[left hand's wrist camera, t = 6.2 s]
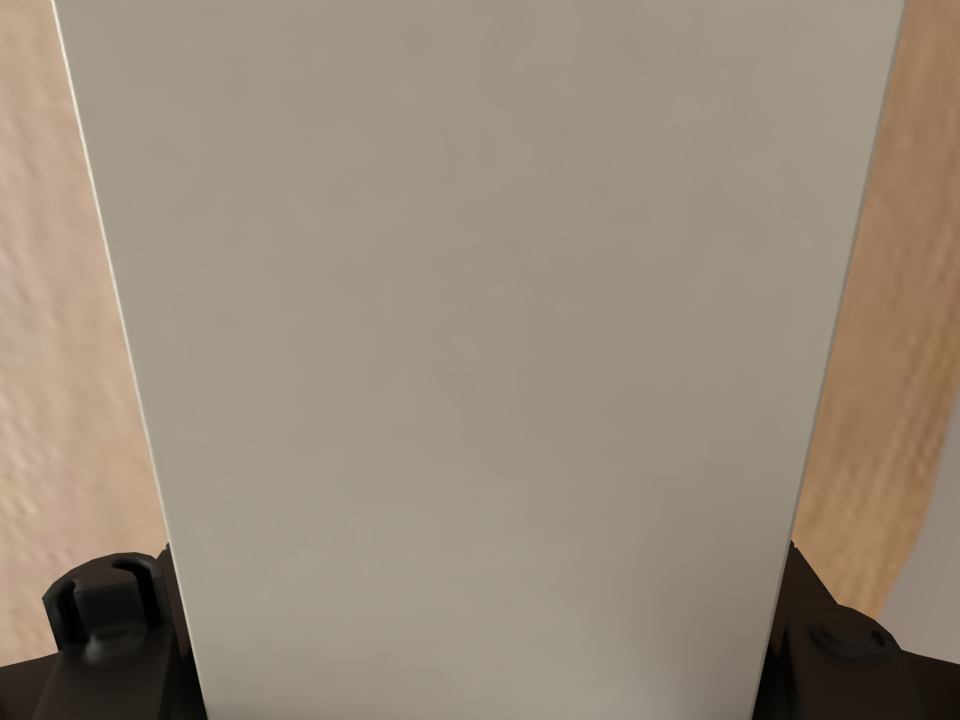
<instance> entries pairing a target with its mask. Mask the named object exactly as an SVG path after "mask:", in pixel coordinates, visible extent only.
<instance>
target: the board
mask: <svg viewBox="0 0 960 720" xmlns="http://www.w3.org/2000/svg"><path fill="white" fill-rule="evenodd" d="M50 1H51V5H52V10H53V14H54V19H55V23H56V28H57V33H58V37H59V42H60V46H61V51H62V55H63V60H64V65H65V69H66V74H67V78H68V83H69V87H70V92H71V97H72V101H73V106H74V110H75V115H76V119H77V124H78V129H79V133H80V138H81V142H82V147H83V151H84V156H85V161H86V165H87V170H88V174H89V179H90V183H91V188H92V193H93V197H94V202H95V206H96V211H97V215H98V220H99V225H100V229H101V234H102V238H103V243H104V247H105V252H106V257H107V261H108V266H109V270H110V275H111V280H112V284H113V289H114V293H115V298H116V302H117V307H118V312H119V316H120V321H121V325H122V330H123V334H124V339H125V344H126V348H127V353H128V357H129V362H130V366H131V371H132V376H133V380H134V385H135V389H136V394H137V398H138V403H139V408H140V412H141V417H142V421H143V426H144V430H145V435H146V440H147V444H148V449H149V453H150V458H151V462H152V467H153V472H154V476H155V481H156V485H157V490H158V494H159V499H160V504H161V508H162V513H163V517H164V522H165V526H166V531H167V536H168V540H169V545H170V549H171V554H172V558H173V563H174V568H175V572H176V577H177V581H178V586H179V590H180V595H181V600H182V604H183V609H184V613H185V618H186V623H187V627H188V632H189V636H190V641H191V645H192V650H193V655H194V659H195V664H196V668H197V673H198V677H199V682H200V687H201V691H202V696H203V700H204V705H205V709H206V714H207V719H208V720H752V715H753V711H754V706H755V701H756V697H757V692H758V688H759V683H760V679H761V674H762V669H763V665H764V660H765V656H766V651H767V646H768V642H769V637H770V633H771V628H772V624H773V619H774V614H775V610H776V605H777V601H778V596H779V591H780V587H781V582H782V578H783V573H784V568H785V564H786V559H787V555H788V550H789V546H790V541H791V536H792V532H793V527H794V523H795V518H796V513H797V509H798V504H799V500H800V495H801V490H802V486H803V481H804V477H805V472H806V468H807V463H808V458H809V454H810V449H811V445H812V440H813V435H814V431H815V426H816V422H817V417H818V413H819V408H820V403H821V399H822V394H823V390H824V385H825V380H826V376H827V371H828V367H829V362H830V357H831V353H832V348H833V344H834V339H835V335H836V330H837V325H838V321H839V316H840V312H841V307H842V302H843V298H844V293H845V289H846V284H847V279H848V275H849V270H850V266H851V261H852V257H853V252H854V247H855V243H856V238H857V234H858V229H859V224H860V220H861V215H862V211H863V206H864V202H865V197H866V192H867V188H868V183H869V179H870V174H871V169H872V165H873V160H874V156H875V151H876V146H877V142H878V137H879V133H880V128H881V124H882V119H883V114H884V110H885V105H886V101H887V96H888V91H889V87H890V82H891V78H892V73H893V68H894V64H895V59H896V55H897V50H898V46H899V41H900V36H901V32H902V27H903V23H904V18H905V13H906V9H907V4H908V0H50Z"/></svg>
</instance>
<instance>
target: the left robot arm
mask: <svg viewBox="0 0 960 720" xmlns="http://www.w3.org/2000/svg"><path fill="white" fill-rule="evenodd" d="M42 600H43V603H44V606H45V609H46V613H47V616H48V619H49V622H50V625H51V628H52V632H53V635H54V638H55V641H56V644H57V648H58V653H55V654H52V655H48V656H45V657H41V658H37V659H33V660H29V661H24V662H20V663H16V664H12V665H8V666H3V667H0V720H208V719H207V714H206V709H205V705H204V700H203V696H202V691H201V687H200V682H199V677H198V673H197V668H196V664H195V659H194V655H193V650H192V645H191V641H190V636H189V632H188V627H187V623H186V618H185V613H184V609H183V604H182V600H181V595H180V590H179V586H178V581H177V577H176V572H175V568H174V563H173V558H172V554H171V549H170V545H169V542H168V544H167V545H166V550H163V551H162V552H161V553H160V555H159V556H158V558H157V559H155V558H153V557H152V556H150V555H146V554H141V553H137V552H131V553H115V554H111V555H108V556H104V557H100V558H96V559H93V560H91V561H88V562H86V563H84V564H82V565H80V566H78V567H76V568H74V569H72V570H70V571H69V572H67V573H66V574H65V575H63V576H62V577H61V578H59V579H58V580H57V581H55V582H54V583H53V584H52V585H51V587H50V588H49V589H48V591H47V592H46V593H45V595H44V596H43V597H42ZM752 720H960V664H955V663H951V662H947V661H943V660H938V659H934V658H930V657H926V656H921V655H917V654H914V653H911V652H907V651H904V650H901V648H900V647H899V645H898V644H897V642H896V641H895V639H894V638H893V636H892V635H891V634H890V633H889V632H888V631H887V630H886V629H884V628H883V627H882V626H881V625H880V624H879V623H877V622H876V621H875V620H874V619H872V618H870V617H868V616H866V615H864V614H862V613H860V612H859V611H857V610H855V609H852V608H849V607H846V606H842V605H839V604H837V603H836V601H835V600H834V598H833V597H832V596H831V594H830V593H829V591H828V590H827V589H826V587H825V586H824V585H823V583H822V582H821V580H820V579H819V578H818V576H817V575H816V573H815V572H814V571H813V569H812V568H811V566H810V565H809V564H808V562H807V561H806V560H805V558H804V557H803V555H802V554H801V553H800V551H799V550H798V548H794V543H793V541H792V540H791V541H790V546H789V550H788V555H787V559H786V564H785V568H784V573H783V578H782V582H781V587H780V591H779V596H778V601H777V605H776V610H775V614H774V619H773V624H772V628H771V633H770V637H769V642H768V646H767V651H766V656H765V660H764V665H763V669H762V674H761V679H760V683H759V688H758V692H757V697H756V701H755V706H754V711H753V715H752Z"/></svg>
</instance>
